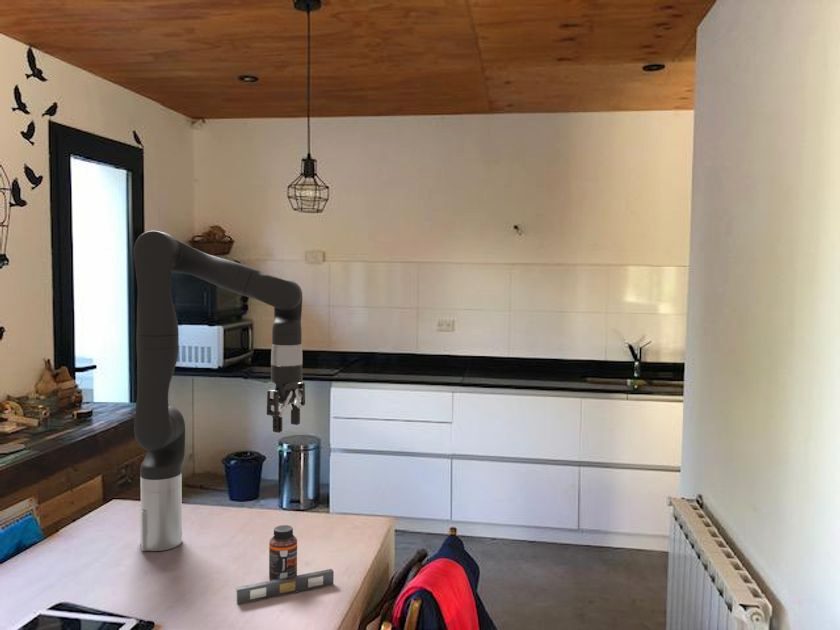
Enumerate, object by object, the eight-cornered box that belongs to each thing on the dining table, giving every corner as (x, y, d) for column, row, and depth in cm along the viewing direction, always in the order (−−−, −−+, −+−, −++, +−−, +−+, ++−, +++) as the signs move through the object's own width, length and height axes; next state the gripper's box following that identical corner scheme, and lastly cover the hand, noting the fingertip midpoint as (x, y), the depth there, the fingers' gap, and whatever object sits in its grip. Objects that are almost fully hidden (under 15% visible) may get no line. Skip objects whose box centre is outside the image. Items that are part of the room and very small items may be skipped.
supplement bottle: (290, 587, 138) (290, 534, 137) (264, 584, 139) (264, 532, 138) (301, 574, 143) (301, 524, 143) (275, 571, 145) (275, 521, 144)
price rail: (237, 605, 130) (237, 590, 130) (236, 601, 131) (236, 587, 131) (333, 585, 139) (334, 571, 139) (331, 582, 140) (331, 568, 140)
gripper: (288, 358, 167) (287, 420, 168) (257, 365, 154) (257, 433, 155) (314, 359, 165) (314, 423, 166) (285, 367, 151) (285, 436, 152)
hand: (286, 428), depth 160 cm, fingers open, 8 cm apart
